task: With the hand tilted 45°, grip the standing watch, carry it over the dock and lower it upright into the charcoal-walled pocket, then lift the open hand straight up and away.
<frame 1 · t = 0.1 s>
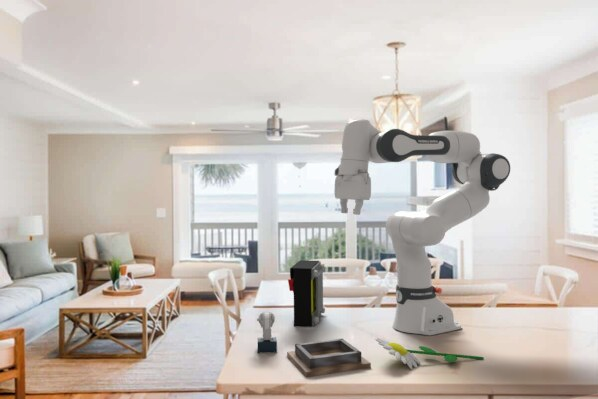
hand: (350, 213, 154), 39 cm above the kitchen island, tool pointing down, fingers open, 8 cm apart
decorative flower: (430, 362, 132), on the kitchen island
dock: (327, 361, 132), on the kitchen island
electrical component: (307, 320, 174), on the kitchen island
watch: (267, 350, 143), on the kitchen island
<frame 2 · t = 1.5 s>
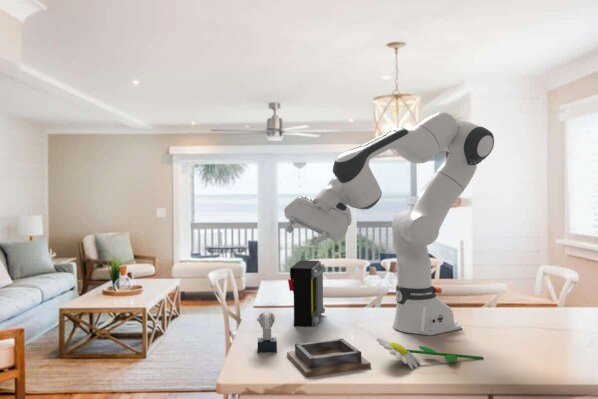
hand: (300, 237, 141), 33 cm above the kitchen island, tool tilted 50°, fingers open, 8 cm apart
nothing on the kitchen island moved.
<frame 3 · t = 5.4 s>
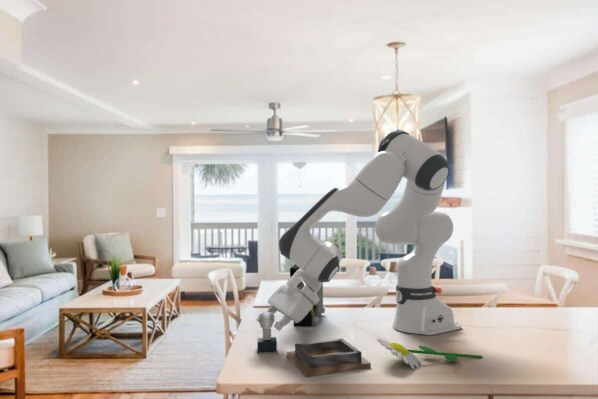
hand: (270, 324, 142), 7 cm above the kitchen island, tool tilted 45°, fingers open, 8 cm apart
nothing on the kitchen island moved.
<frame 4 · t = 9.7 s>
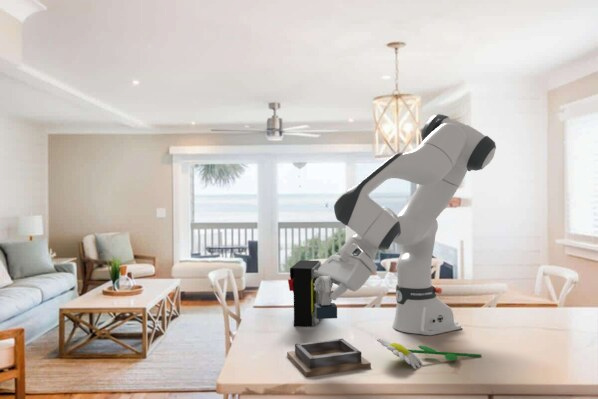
hand: (323, 294, 132), 18 cm above the kitchen island, tool tilted 45°, fingers closed on watch, 8 cm apart
watch: (325, 317, 132), point 12 cm above the kitchen island, touching gripper
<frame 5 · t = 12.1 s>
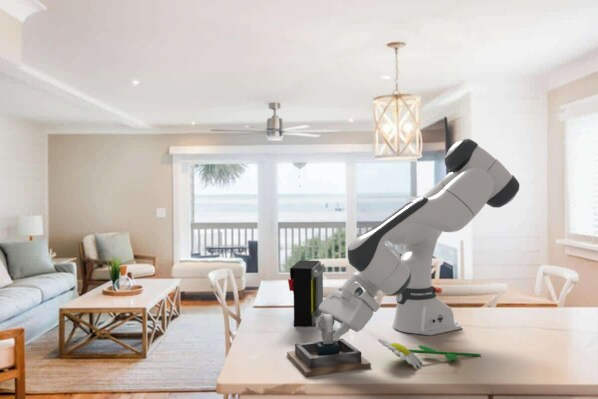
hand: (325, 333, 132), 8 cm above the kitchen island, tool tilted 45°, fingers closed on watch, 8 cm apart
watch: (327, 355, 132), point 2 cm above the kitchen island, touching gripper
when the fingers open (8 cm above the kitchen island, at t = 14.2 s): watch stays where it is, resting on dock.
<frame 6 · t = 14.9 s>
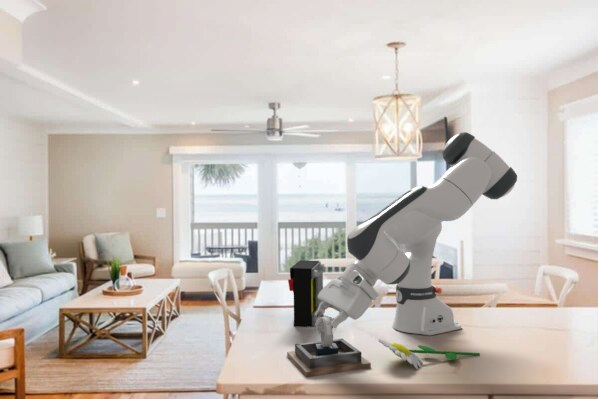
hand: (324, 321, 132), 11 cm above the kitchen island, tool tilted 45°, fingers open, 8 cm apart
watch: (326, 358, 132), point 1 cm above the kitchen island, touching dock
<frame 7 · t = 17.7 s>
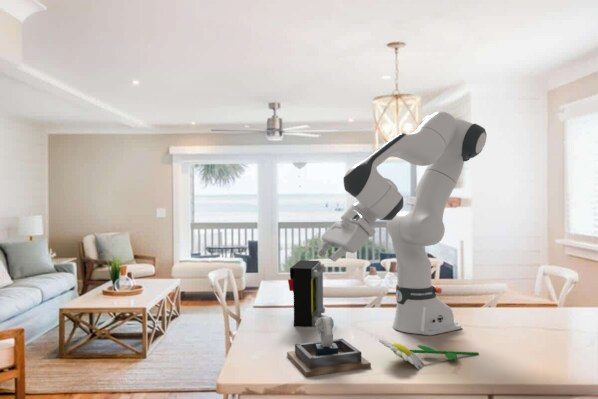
hand: (325, 257, 143), 27 cm above the kitchen island, tool tilted 45°, fingers open, 8 cm apart
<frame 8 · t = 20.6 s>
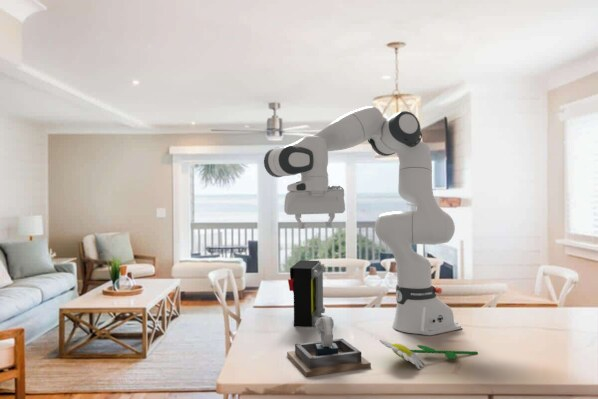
hand: (315, 227, 159), 34 cm above the kitchen island, tool pointing down, fingers open, 8 cm apart
at the end: watch 0.2 cm from the dock (horizontally); watch tilted 0°; the gripper is holding nothing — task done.
